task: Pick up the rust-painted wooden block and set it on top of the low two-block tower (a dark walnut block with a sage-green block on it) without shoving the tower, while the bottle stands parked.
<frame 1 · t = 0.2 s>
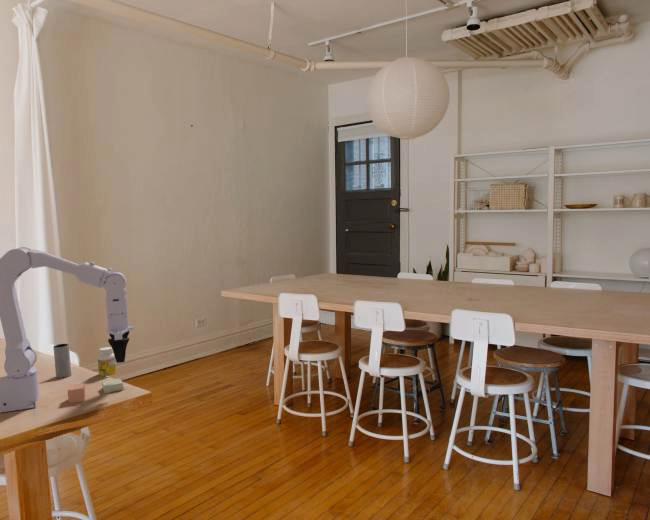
hand: (120, 358, 156), 10 cm above the table, fingers open, 7 cm apart
supplement bottle: (108, 378, 172), on the table
grey cylinder: (63, 376, 176), on the table
top block: (112, 389, 156), point 1 cm above the table, touching base block
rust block: (77, 404, 148), on the table
base block: (113, 395, 156), on the table, touching top block
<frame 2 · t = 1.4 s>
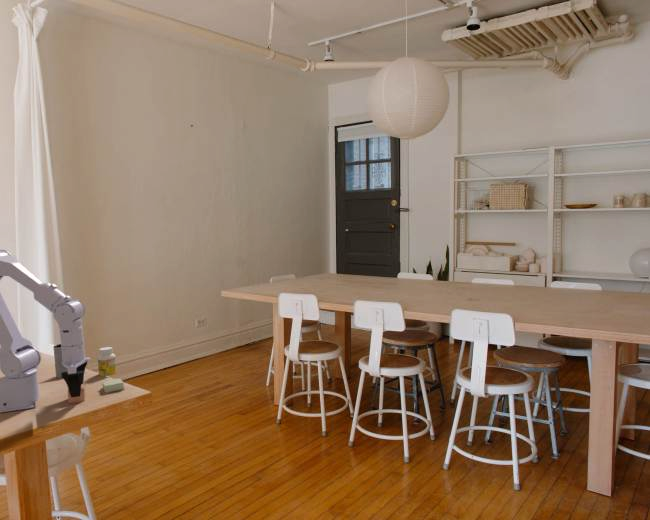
hand: (77, 392, 148), 3 cm above the table, fingers open, 7 cm apart
nothing on the table moved.
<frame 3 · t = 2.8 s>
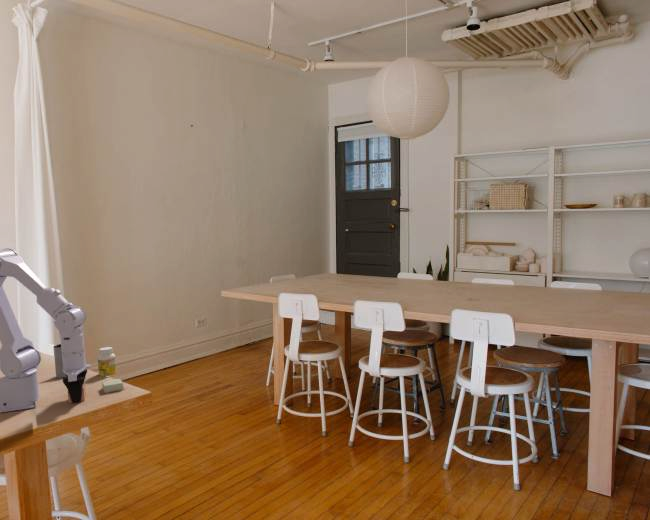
hand: (77, 399, 148), 1 cm above the table, fingers closed on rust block, 4 cm apart
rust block: (77, 404, 148), on the table, touching gripper
everything else where it was.
when the fingers open (6 cm above the table, at t = 5.8 s): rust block stays where it is, resting on top block.
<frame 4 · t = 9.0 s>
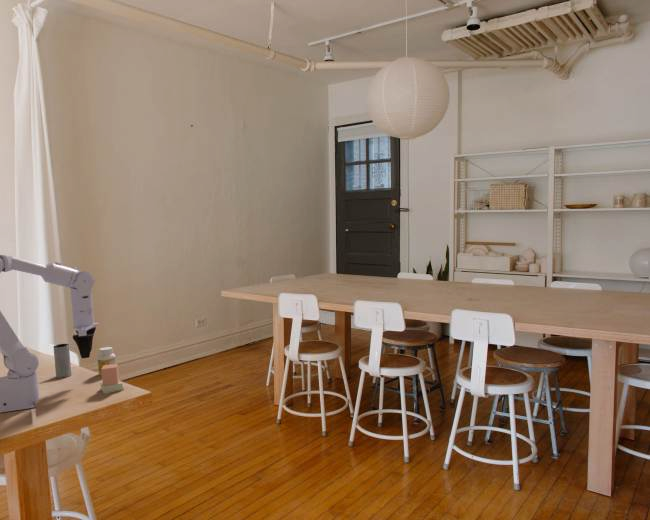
hand: (86, 354, 161), 10 cm above the table, fingers open, 7 cm apart
top block: (111, 389, 155), point 1 cm above the table, touching base block, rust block
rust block: (111, 383, 155), point 3 cm above the table, touching top block
everything else where it was.
at the end: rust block 0.1 cm off-centre on the top block, point 2.0 cm above the top block's base; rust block tilted 0°; top block moved 0.9 cm from its start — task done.
